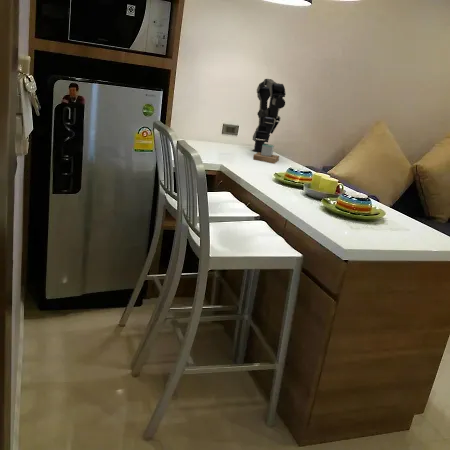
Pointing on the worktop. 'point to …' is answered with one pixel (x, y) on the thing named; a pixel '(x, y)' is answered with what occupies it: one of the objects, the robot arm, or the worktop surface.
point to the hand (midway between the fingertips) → (269, 134)
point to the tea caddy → (267, 150)
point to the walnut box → (266, 158)
